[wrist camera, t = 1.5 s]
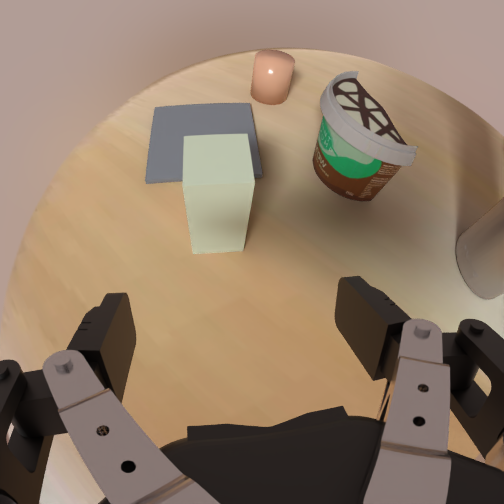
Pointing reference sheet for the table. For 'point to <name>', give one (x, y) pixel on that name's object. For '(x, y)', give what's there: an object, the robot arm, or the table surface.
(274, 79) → the peach pillar candle
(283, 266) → the table surface
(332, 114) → the food container
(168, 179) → the plate
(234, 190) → the sage block
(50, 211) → the table surface
